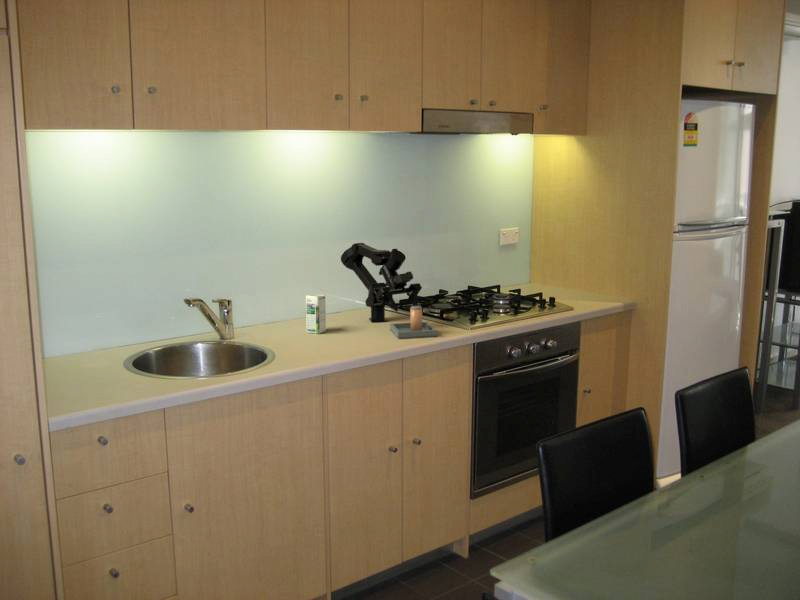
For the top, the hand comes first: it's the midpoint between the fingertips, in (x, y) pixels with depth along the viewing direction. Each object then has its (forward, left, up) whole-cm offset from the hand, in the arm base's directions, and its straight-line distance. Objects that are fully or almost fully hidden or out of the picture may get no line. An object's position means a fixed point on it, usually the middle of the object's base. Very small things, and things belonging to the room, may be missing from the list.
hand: (407, 309), depth 307 cm
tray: (+5, +1, -8) cm, 10 cm away
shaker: (+6, +2, -8) cm, 10 cm away
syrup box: (-6, -35, -9) cm, 36 cm away
